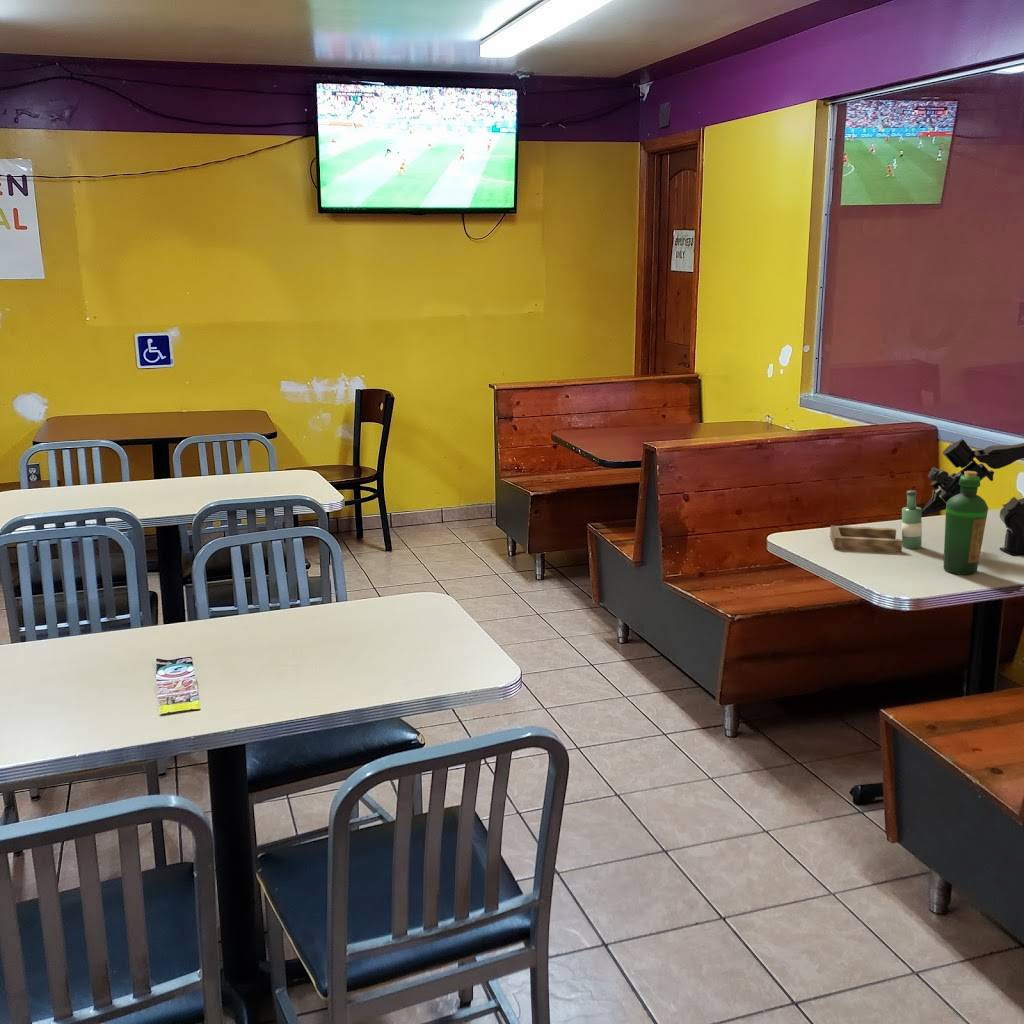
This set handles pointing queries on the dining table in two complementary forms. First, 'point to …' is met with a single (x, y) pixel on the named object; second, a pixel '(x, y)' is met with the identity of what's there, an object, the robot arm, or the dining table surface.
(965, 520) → the bottle
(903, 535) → the bottle
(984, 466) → the robot arm
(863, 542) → the cradle
